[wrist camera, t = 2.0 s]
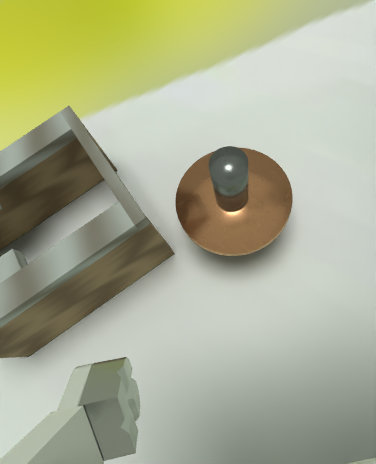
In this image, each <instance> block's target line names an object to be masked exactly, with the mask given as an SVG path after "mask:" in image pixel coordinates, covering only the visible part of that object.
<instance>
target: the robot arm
mask: <svg viewBox="0 0 376 464" xmlns="http://www.w3.org/2000/svg"><path fill="white" fill-rule="evenodd" d="M131 374H132V367H131V364H130V361H129V359H128V358H127V357H124V358H119V359H114V360H108V361H103V362H98V363H94V364H88V365H83V366H78V367H76V368H75V369H74V370H73V373H72V375H71V378H70V380H69V382H68V385H67V387H66V390H65V392H64V395H63V397H62V400H61V402H60V404H59V407H58V409H57V411H55V412H51V413H50V414H49V415H48V416H47V417H46V418H45V419H44V420H42V421H41V422H40V423H39V424H38V425H37V426H36V427H35V428H34V429H33V430H32V431H31V432H29V433H28V434H27V435H26V436H25V437H24V438H23V439H22V440H21V441H20V442H19V443H18V444H17V445H15V446H14V447H13V448H12V449H11V450H10V451H9V452H8V453H7V454H6V455H5V456H4V457H2V458H1V459H0V464H104V462H103V461H106V460H110V459H114V458H118V457H122V456H126V455H130V454H134V453H136V445H137V435H138V429H137V426H136V422H135V421H136V420H137V419H138V417H139V414H140V398H139V392H138V387H137V383H136V381H135V380H134V379H132V378H131ZM347 464H376V457H375V458H370V459H366V460H361V461H357V462H352V463H347Z"/></svg>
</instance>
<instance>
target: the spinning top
mask: <svg viewBox="0 0 376 464" xmlns="http://www.w3.org/2000/svg"><path fill="white" fill-rule="evenodd" d="M291 207H292V189H291V185H290V182H289V180H288V178H287V175H286V174H285V172H284V171H283V169H282V168H281V167H280V166H279V165H278V164H277V163H276V162H275V161H274V160H273V159H271V158H270V157H268V156H267V155H265V154H263V153H260V152H258V151H255V150H251V149H247V148H237V147H232V146H228V147H223V148H220V149H218V150H216V151H214V152H212V153H209V154H207V155H205V156H204V157H202V158H200V159H199V160H198V161H196V162H195V163H194V164H193V165H192V166H191V167H190V168H189V169H188V170H187V171H186V173H185V174H184V176H183V177H182V179H181V181H180V183H179V186H178V189H177V193H176V212H177V215H178V219H179V221H180V223H181V225H182V227H183V229H184V230H185V232H186V234H187V235H188V236H189V237H190V238H191V240H192V241H194V242H195V243H196V244H197V245H199V246H200V247H201V248H203V249H205V250H207V251H209V252H212V253H215V254H219V255H223V256H241V255H247V254H250V253H253V252H256V251H258V250H260V249H262V248H264V247H266V246H267V245H269V244H270V243H271V242H272V241H274V240H275V239H276V238H277V237H278V236H279V234H280V233H281V232H282V230H283V229H284V227H285V225H286V223H287V221H288V218H289V215H290V212H291Z"/></svg>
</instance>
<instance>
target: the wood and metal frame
mask: <svg viewBox="0 0 376 464" xmlns="http://www.w3.org/2000/svg"><path fill="white" fill-rule="evenodd" d="M116 171H117V169H116V168H115V167H114V165H113V164H112V162H111V161H110V160H109V158H108V157H107V156H106V154H105V153H104V152H103V150H102V149H101V148H100V146H99V145H98V144H97V142H96V141H95V140H94V138H93V137H92V136H91V134H90V133H89V132H88V130H87V129H86V128H85V126H84V125H83V124H82V122H81V121H80V120H79V118H78V117H77V116H76V114H75V113H74V112H73V110H72V109H71V108H70V106H68V107H66V108H65V109H63V110H62V111H60V112H59V113H57V114H56V115H54V116H53V117H51V118H50V119H48V120H47V121H45V122H44V123H42V124H41V125H39V126H38V127H36V128H35V129H33V130H32V131H30V132H29V133H27V134H26V135H24V136H23V137H21V138H20V139H18V140H17V141H15V142H14V143H12V144H11V145H9V146H8V147H6V148H5V149H3V150H2V151H0V250H2V249H3V248H5V247H6V246H8V245H9V244H10V243H12V242H13V241H15V240H16V239H18V238H19V237H21V236H22V235H24V234H25V233H27V232H28V231H29V230H31V229H32V228H34V227H35V226H37V225H38V224H40V223H41V222H43V221H44V220H46V219H47V218H49V217H50V216H51V215H53V214H54V213H56V212H57V211H59V210H60V209H62V208H63V207H65V206H66V205H68V204H69V203H70V202H72V201H73V200H75V199H76V198H78V197H79V196H81V195H82V194H84V193H85V192H87V191H88V190H89V189H91V188H92V187H94V186H95V185H97V184H98V183H100V182H101V181H103V180H105V181H106V183H107V184H108V186H109V187H110V189H111V190H112V192H113V193H114V195H115V196H116V198H117V199H118V201H119V202H117V203H116V204H114V205H113V206H112V207H110V208H109V209H107V210H106V211H104V212H103V213H101V214H100V215H99V216H97V217H96V218H94V219H93V220H91V221H90V222H88V223H87V224H85V225H84V226H83V227H81V228H80V229H78V230H77V231H75V232H74V233H72V234H71V235H70V236H68V237H67V238H65V239H64V240H62V241H61V242H59V243H58V244H56V245H55V246H54V247H52V248H51V249H49V250H48V251H46V252H45V253H43V254H42V255H40V256H39V257H38V258H36V259H35V260H33V261H32V262H30V263H29V264H27V262H26V260H25V258H24V255H23V253H22V252H19V251H17V250H14V249H11V250H10V251H8V252H7V253H5V254H4V255H2V256H1V257H0V358H9V357H29V356H30V355H32V354H33V353H35V352H36V351H37V350H39V349H40V348H42V347H43V346H45V345H46V344H47V343H49V342H50V341H52V340H53V339H54V338H56V337H57V336H59V335H60V334H62V333H63V332H64V331H66V330H67V329H69V328H70V327H71V326H73V325H74V324H76V323H77V322H79V321H80V320H81V319H83V318H84V317H86V316H87V315H88V314H90V313H91V312H93V311H94V310H96V309H97V308H98V307H100V306H101V305H103V304H104V303H105V302H107V301H108V300H110V299H111V298H113V297H114V296H115V295H117V294H118V293H120V292H121V291H122V290H124V289H125V288H127V287H128V286H130V285H131V284H132V283H134V282H135V281H137V280H138V279H139V278H141V277H142V276H144V275H145V274H146V273H148V272H149V271H151V270H152V269H154V268H155V267H156V266H158V265H159V264H161V263H162V262H163V261H165V260H166V259H168V258H169V257H171V256H172V255H173V254H175V253H174V252H173V251H172V249H171V248H170V246H169V245H168V244H167V242H166V241H165V240H164V238H163V237H162V236H161V235H160V233H159V232H158V231H157V230H156V228H155V227H154V226H153V225H152V223H151V222H150V221H149V220H148V218H147V217H146V216H145V215H144V213H143V212H142V211H141V209H140V208H139V206H138V205H137V203H136V202H135V200H134V199H133V197H132V196H131V195H130V193H129V192H128V190H127V189H126V187H125V186H124V184H123V183H122V181H121V180H120V178H119V177H118V176H117V174H116V173H115V172H116Z"/></svg>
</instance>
